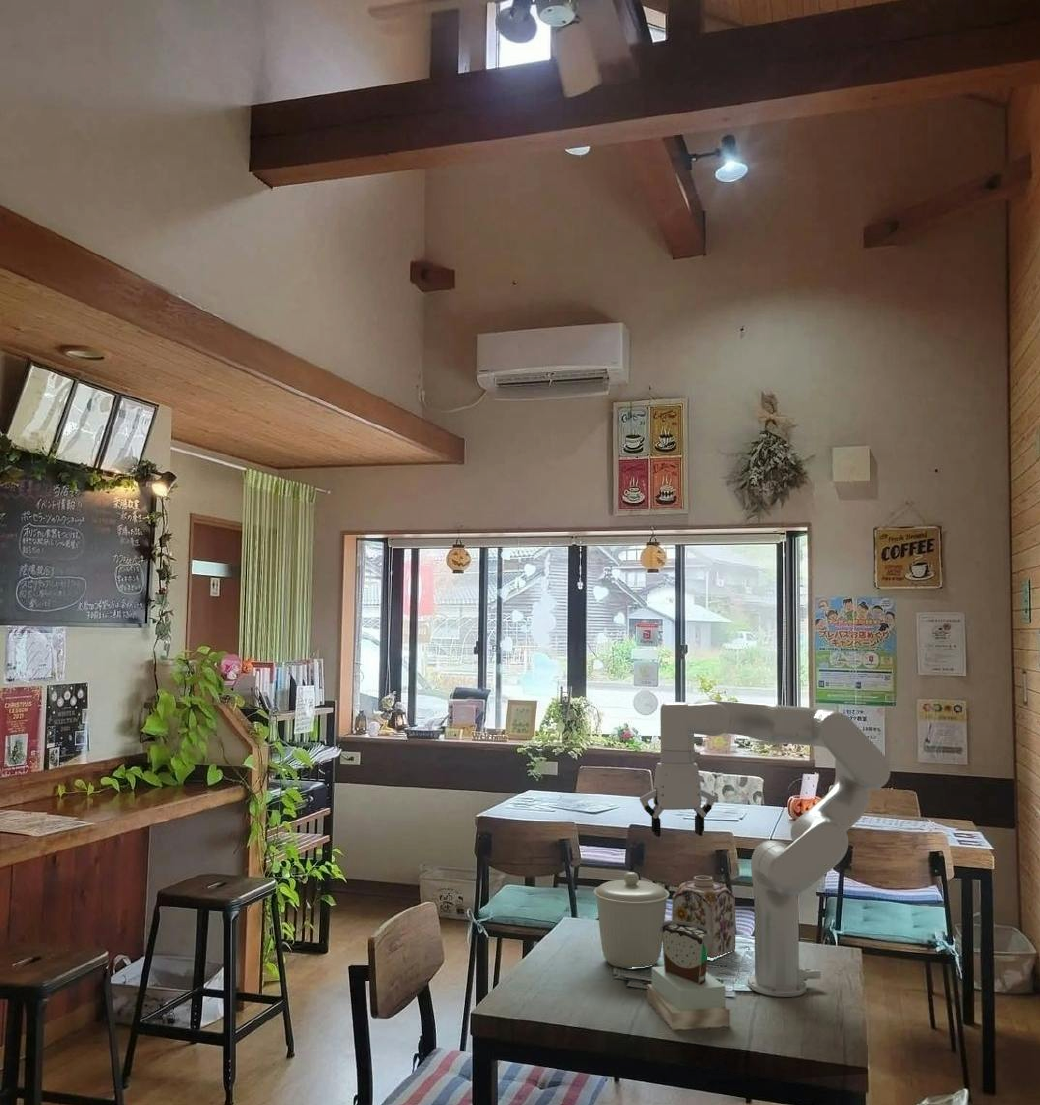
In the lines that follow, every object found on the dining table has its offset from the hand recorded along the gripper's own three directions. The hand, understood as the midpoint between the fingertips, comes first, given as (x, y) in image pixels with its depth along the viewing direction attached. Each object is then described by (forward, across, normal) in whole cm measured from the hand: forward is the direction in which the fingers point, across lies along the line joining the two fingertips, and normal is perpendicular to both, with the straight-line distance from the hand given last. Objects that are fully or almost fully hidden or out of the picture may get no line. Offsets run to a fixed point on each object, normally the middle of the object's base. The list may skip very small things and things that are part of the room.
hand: (677, 835), depth 219 cm
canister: (+34, +6, -18) cm, 39 cm away
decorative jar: (+34, -14, -24) cm, 44 cm away
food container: (+26, +1, +13) cm, 29 cm away
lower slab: (+34, +2, +13) cm, 37 cm away
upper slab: (+30, +2, +13) cm, 33 cm away
